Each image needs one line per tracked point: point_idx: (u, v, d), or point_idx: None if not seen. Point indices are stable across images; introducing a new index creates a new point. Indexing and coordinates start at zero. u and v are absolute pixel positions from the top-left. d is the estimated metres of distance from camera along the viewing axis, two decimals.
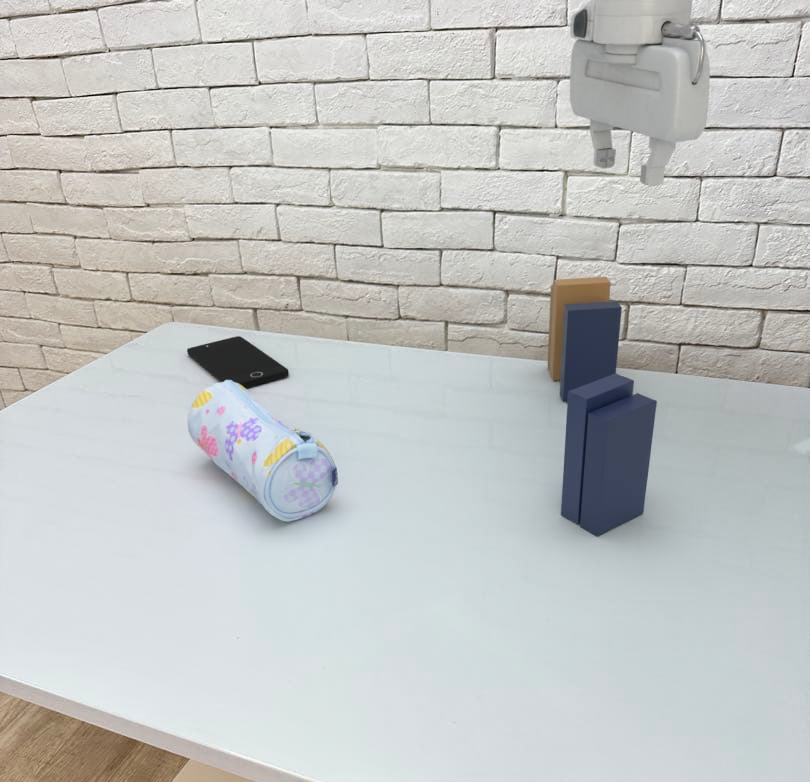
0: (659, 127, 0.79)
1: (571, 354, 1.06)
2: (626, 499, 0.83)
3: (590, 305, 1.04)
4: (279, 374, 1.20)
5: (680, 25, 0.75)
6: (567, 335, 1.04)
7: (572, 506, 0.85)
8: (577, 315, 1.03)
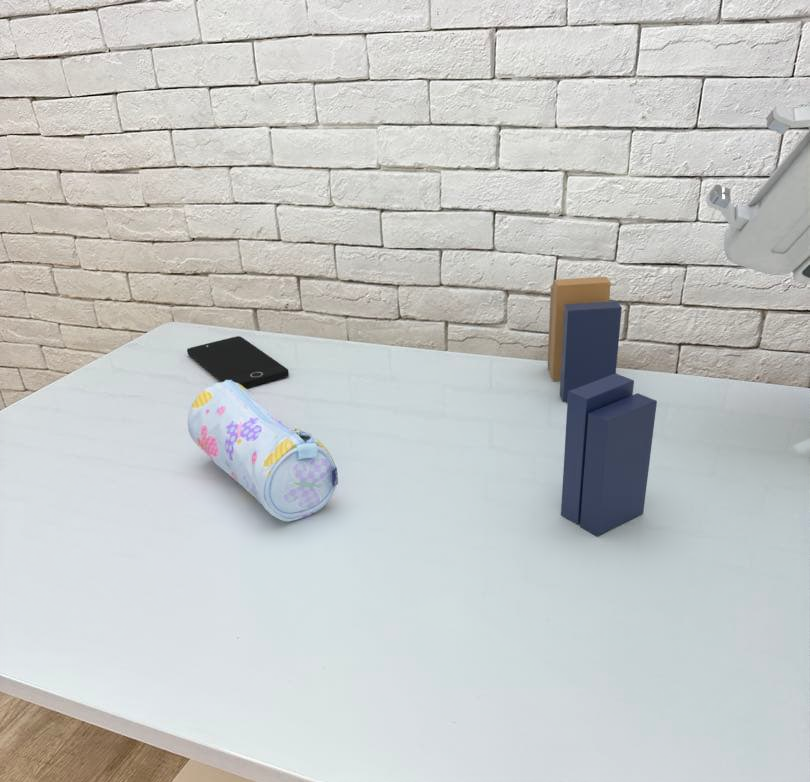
0: None
1: (571, 354, 1.06)
2: (626, 499, 0.83)
3: (590, 305, 1.04)
4: (279, 374, 1.20)
5: None
6: (567, 335, 1.04)
7: (572, 506, 0.85)
8: (577, 315, 1.03)
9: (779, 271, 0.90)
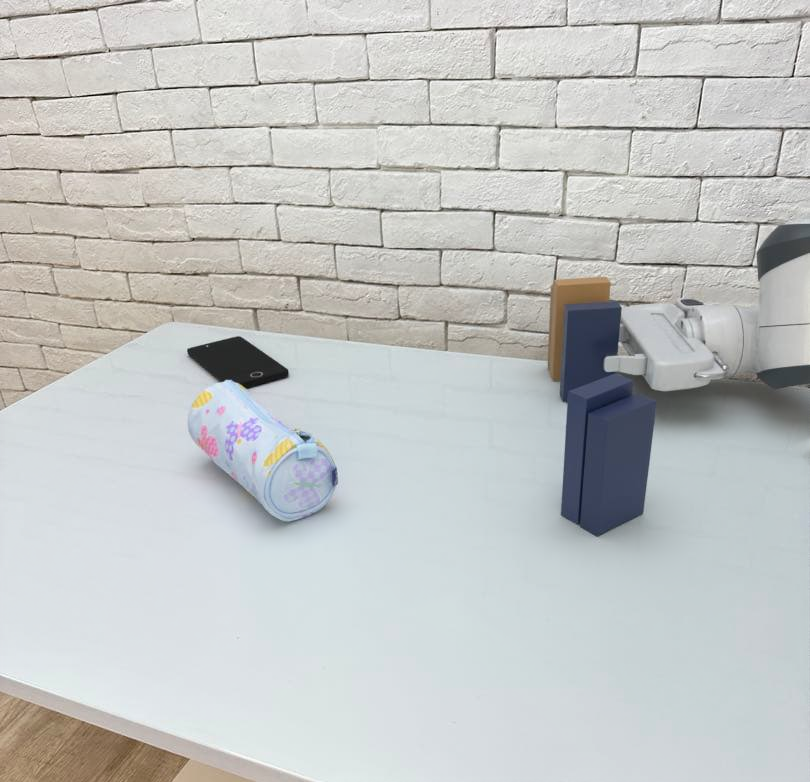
0: (660, 356, 0.99)
1: (571, 354, 1.06)
2: (626, 499, 0.83)
3: (590, 305, 1.04)
4: (279, 374, 1.20)
5: (723, 361, 1.01)
6: (567, 335, 1.04)
7: (572, 506, 0.85)
8: (577, 315, 1.03)
9: None
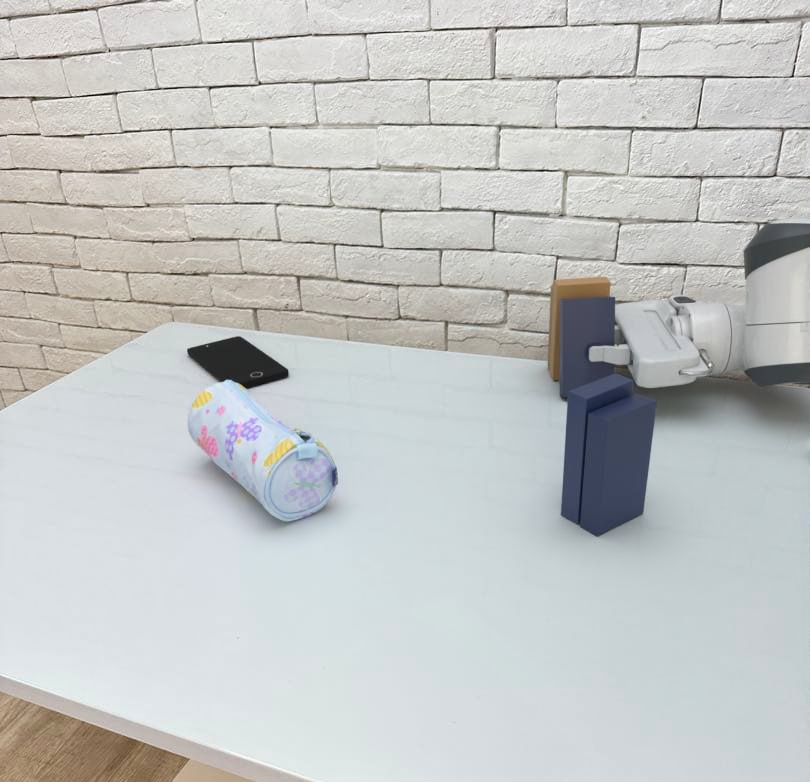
0: (646, 353, 1.00)
1: (568, 345, 1.07)
2: (626, 499, 0.83)
3: (584, 298, 1.06)
4: (279, 374, 1.20)
5: (710, 359, 1.02)
6: (563, 326, 1.06)
7: (572, 506, 0.85)
8: (572, 305, 1.06)
9: None
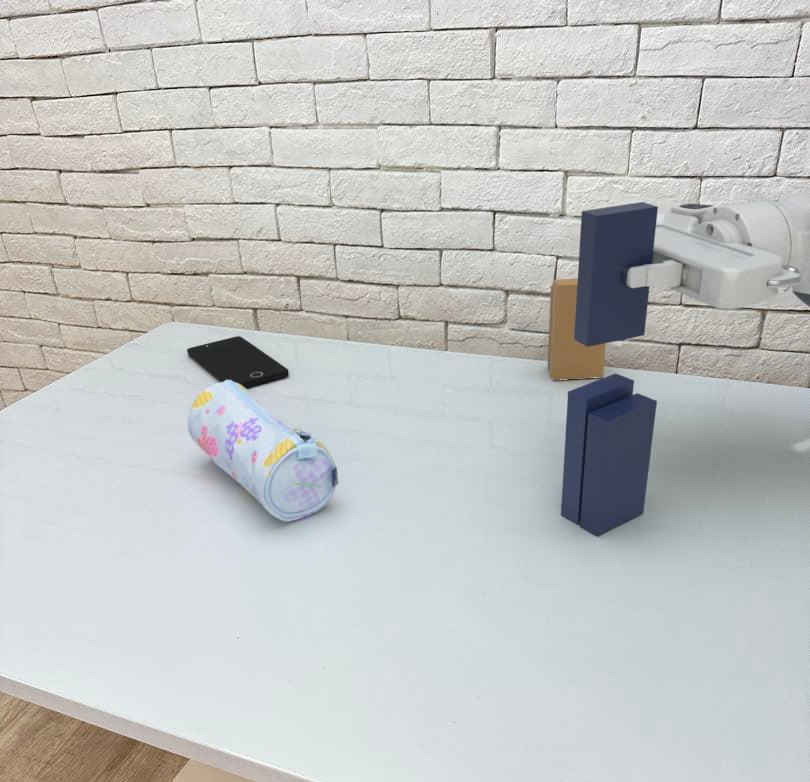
0: (722, 263, 0.74)
1: (598, 278, 0.78)
2: (626, 499, 0.83)
3: (617, 209, 0.77)
4: (279, 374, 1.20)
5: None
6: (594, 252, 0.77)
7: (572, 506, 0.85)
8: (607, 222, 0.76)
9: None
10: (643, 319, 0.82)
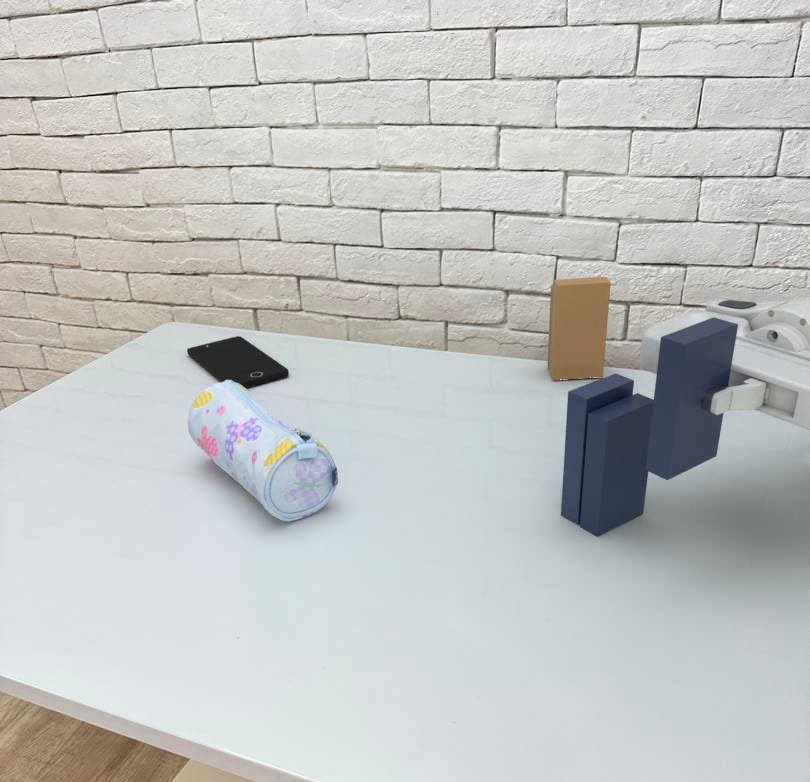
0: None
1: (682, 408, 0.69)
2: (626, 499, 0.83)
3: (697, 331, 0.68)
4: (279, 374, 1.20)
5: None
6: (680, 382, 0.67)
7: (572, 506, 0.85)
8: (694, 349, 0.66)
9: None
10: (717, 440, 0.74)
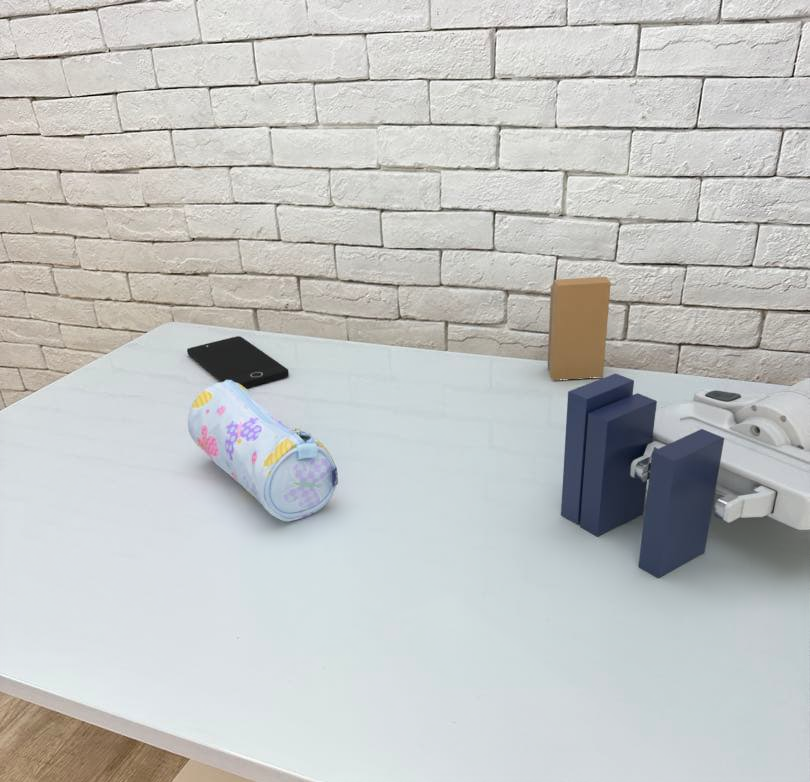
0: (799, 485, 0.72)
1: (672, 515, 0.74)
2: (626, 499, 0.83)
3: (686, 445, 0.73)
4: (279, 374, 1.20)
5: None
6: (670, 493, 0.72)
7: (572, 506, 0.85)
8: (683, 464, 0.71)
9: None
10: (705, 538, 0.79)
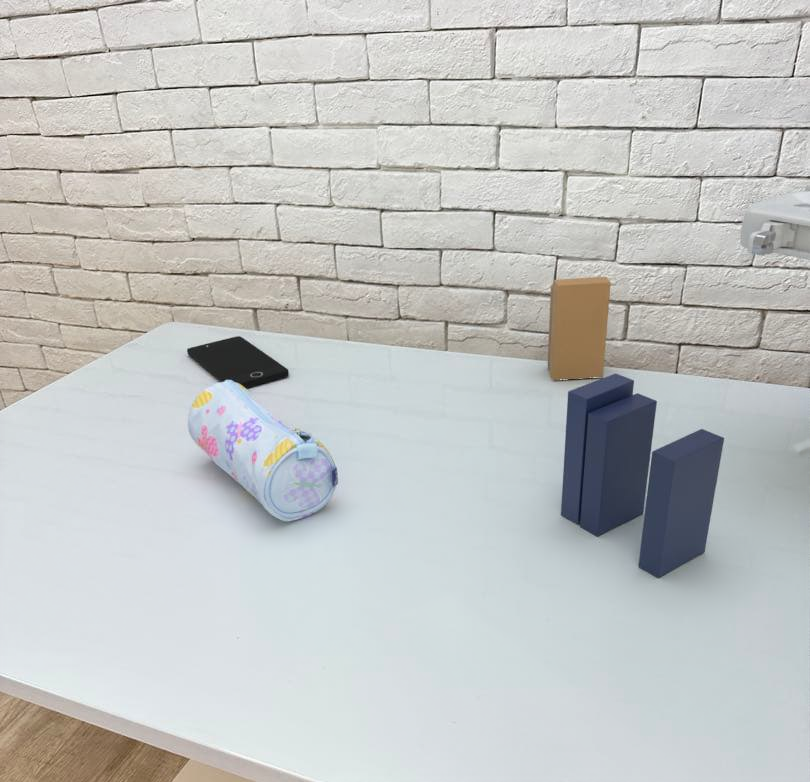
0: None
1: (672, 515, 0.74)
2: (626, 499, 0.83)
3: (686, 445, 0.73)
4: (279, 374, 1.20)
5: None
6: (670, 493, 0.72)
7: (572, 506, 0.85)
8: (682, 464, 0.71)
9: None
10: (705, 538, 0.79)
